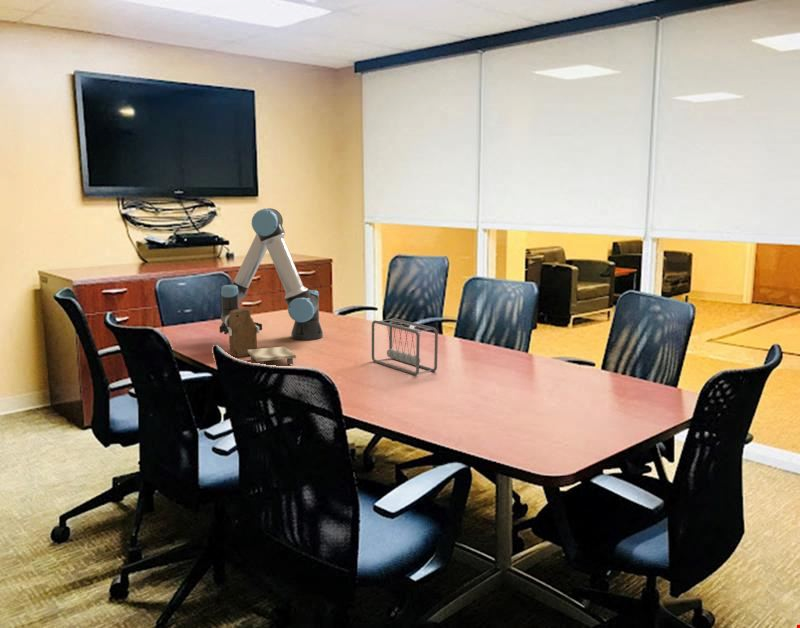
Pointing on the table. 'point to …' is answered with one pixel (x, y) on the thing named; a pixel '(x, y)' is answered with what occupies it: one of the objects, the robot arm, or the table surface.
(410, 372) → the newton's cradle
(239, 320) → the block
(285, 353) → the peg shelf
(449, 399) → the table surface
